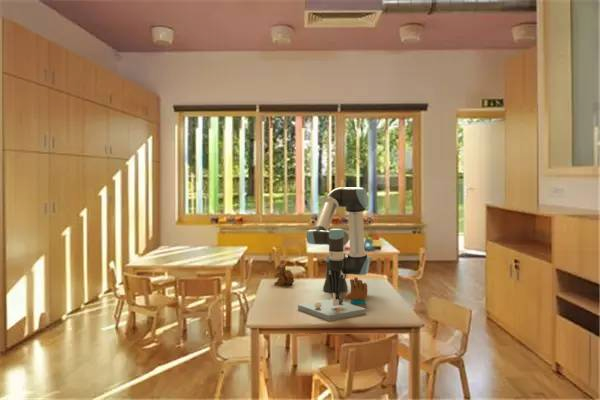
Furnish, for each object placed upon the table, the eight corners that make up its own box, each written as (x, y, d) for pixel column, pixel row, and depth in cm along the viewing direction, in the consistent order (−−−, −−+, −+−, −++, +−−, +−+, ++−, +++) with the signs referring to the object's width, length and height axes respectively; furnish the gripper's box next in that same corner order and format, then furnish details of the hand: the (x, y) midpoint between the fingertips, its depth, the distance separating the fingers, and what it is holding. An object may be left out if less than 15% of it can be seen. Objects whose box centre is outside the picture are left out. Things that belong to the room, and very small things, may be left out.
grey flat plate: (298, 309, 261) (298, 304, 261) (333, 303, 274) (334, 298, 274) (328, 320, 239) (328, 315, 239) (366, 313, 253) (366, 308, 253)
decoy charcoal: (335, 303, 264) (335, 296, 264) (340, 302, 266) (340, 295, 266) (339, 304, 261) (339, 297, 261) (344, 303, 263) (344, 297, 263)
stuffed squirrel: (280, 281, 334) (280, 262, 334) (298, 284, 327) (298, 264, 326) (271, 284, 326) (271, 264, 325) (289, 286, 318) (289, 266, 318)
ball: (340, 306, 250) (342, 312, 249) (342, 305, 253) (344, 312, 252) (333, 308, 251) (336, 315, 250) (336, 308, 254) (338, 315, 253)
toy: (343, 304, 273) (344, 276, 272) (347, 301, 280) (347, 274, 279) (365, 305, 269) (365, 278, 269) (368, 303, 276) (368, 276, 275)
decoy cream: (313, 308, 253) (313, 301, 253) (318, 307, 255) (318, 300, 255) (317, 309, 251) (317, 302, 250) (322, 308, 253) (322, 301, 252)
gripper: (322, 258, 256) (322, 303, 257) (338, 261, 246) (338, 309, 246) (333, 257, 261) (333, 301, 261) (350, 260, 250) (349, 307, 251)
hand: (335, 305), depth 254 cm, fingers closed
